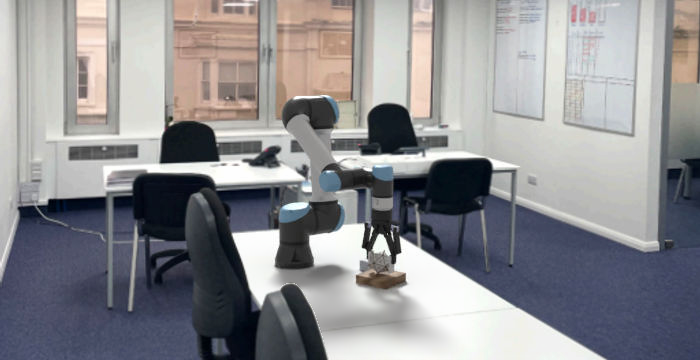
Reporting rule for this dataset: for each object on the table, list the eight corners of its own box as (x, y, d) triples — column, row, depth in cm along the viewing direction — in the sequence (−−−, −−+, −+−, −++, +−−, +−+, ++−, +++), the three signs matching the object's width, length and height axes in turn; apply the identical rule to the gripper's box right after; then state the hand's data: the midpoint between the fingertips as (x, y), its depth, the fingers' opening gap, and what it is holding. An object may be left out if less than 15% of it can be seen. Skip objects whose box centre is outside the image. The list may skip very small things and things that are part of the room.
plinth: (355, 283, 291) (355, 274, 290) (375, 274, 301) (375, 267, 301) (386, 289, 284) (386, 281, 283) (405, 281, 294) (405, 273, 294)
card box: (359, 270, 308) (359, 260, 308) (374, 265, 315) (374, 255, 315) (372, 273, 305) (372, 263, 304) (386, 268, 311) (386, 258, 311)
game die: (386, 283, 291) (392, 265, 284) (363, 276, 292) (368, 258, 285) (391, 266, 297) (397, 248, 291) (369, 259, 298) (374, 240, 291)
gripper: (352, 206, 291) (351, 268, 295) (401, 213, 279) (400, 277, 283) (363, 203, 297) (363, 263, 301) (412, 210, 285) (411, 273, 289)
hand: (381, 270), depth 292 cm, fingers closed on game die, 8 cm apart
